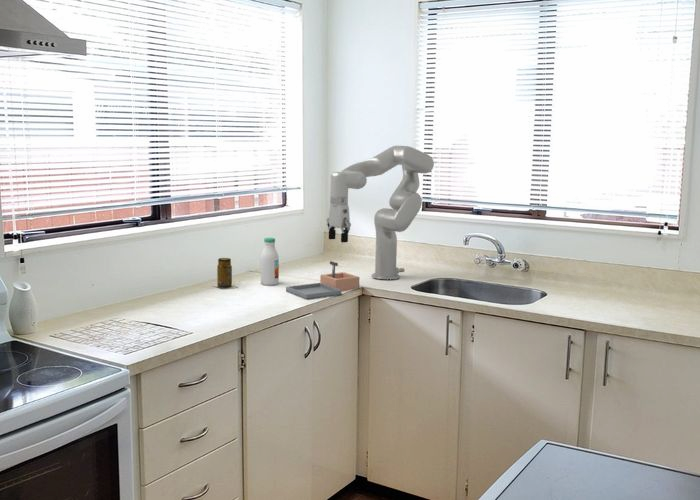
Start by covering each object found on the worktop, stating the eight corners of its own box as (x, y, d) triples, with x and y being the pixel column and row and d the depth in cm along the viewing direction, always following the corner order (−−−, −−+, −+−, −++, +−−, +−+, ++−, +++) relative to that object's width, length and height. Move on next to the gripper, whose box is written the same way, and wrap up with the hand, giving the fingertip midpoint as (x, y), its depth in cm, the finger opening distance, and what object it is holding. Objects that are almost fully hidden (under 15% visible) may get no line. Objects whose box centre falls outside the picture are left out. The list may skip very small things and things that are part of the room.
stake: (331, 286, 326) (331, 261, 324) (337, 289, 322) (338, 263, 320) (329, 287, 325) (329, 261, 324) (335, 289, 321) (335, 263, 319)
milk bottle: (270, 286, 325) (270, 240, 322) (257, 283, 329) (256, 238, 326) (282, 283, 331) (282, 238, 328) (269, 281, 336) (269, 236, 332)
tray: (320, 287, 325) (320, 282, 325) (341, 294, 311) (341, 290, 311) (285, 291, 316) (285, 286, 315) (306, 299, 302) (306, 294, 302)
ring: (343, 283, 334) (343, 272, 333) (359, 288, 324) (359, 277, 323) (320, 286, 327) (320, 274, 326) (335, 291, 317) (335, 279, 316)
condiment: (227, 284, 328) (227, 256, 326) (238, 287, 322) (237, 259, 320) (212, 286, 324) (212, 258, 322) (222, 289, 317) (222, 261, 315)
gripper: (357, 202, 320) (356, 242, 323) (335, 198, 334) (334, 237, 337) (342, 203, 316) (341, 244, 319) (320, 199, 330) (320, 238, 333)
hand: (338, 240), depth 328 cm, fingers open, 9 cm apart
